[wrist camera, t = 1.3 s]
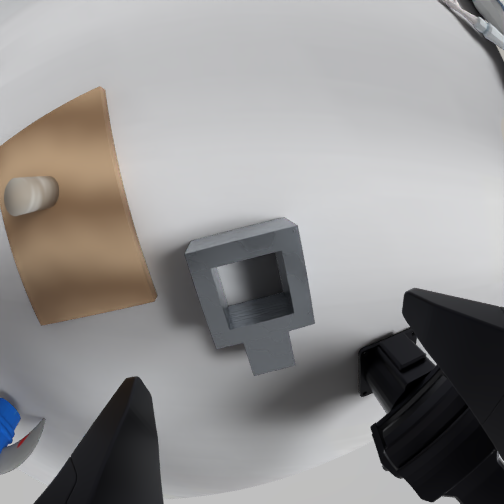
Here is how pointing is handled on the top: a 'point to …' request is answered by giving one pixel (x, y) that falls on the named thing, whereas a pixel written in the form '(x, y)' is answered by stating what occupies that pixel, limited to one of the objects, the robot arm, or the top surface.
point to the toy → (486, 18)
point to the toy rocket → (3, 424)
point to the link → (259, 310)
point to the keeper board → (71, 215)
